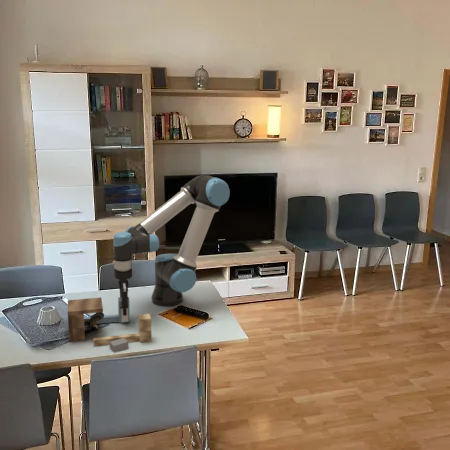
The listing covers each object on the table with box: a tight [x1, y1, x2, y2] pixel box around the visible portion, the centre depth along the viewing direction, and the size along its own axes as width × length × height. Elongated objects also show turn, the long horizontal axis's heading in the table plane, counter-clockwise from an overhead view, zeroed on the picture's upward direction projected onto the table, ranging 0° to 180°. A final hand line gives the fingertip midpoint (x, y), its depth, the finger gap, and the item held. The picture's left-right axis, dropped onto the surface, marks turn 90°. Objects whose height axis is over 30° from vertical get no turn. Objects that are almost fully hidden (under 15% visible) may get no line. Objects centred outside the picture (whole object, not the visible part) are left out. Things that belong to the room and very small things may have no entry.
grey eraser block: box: [109, 338, 129, 353], centre depth 194 cm, size 6×4×3 cm, turn 127°
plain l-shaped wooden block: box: [93, 313, 152, 347], centre depth 198 cm, size 22×4×10 cm, turn 107°
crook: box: [84, 296, 131, 324], centre depth 211 cm, size 22×12×10 cm, turn 105°
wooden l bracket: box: [67, 296, 104, 343], centre depth 204 cm, size 14×12×13 cm
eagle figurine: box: [84, 312, 105, 330], centre depth 210 cm, size 8×7×9 cm
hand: (124, 318), depth 218 cm, fingers closed on crook, 4 cm apart
